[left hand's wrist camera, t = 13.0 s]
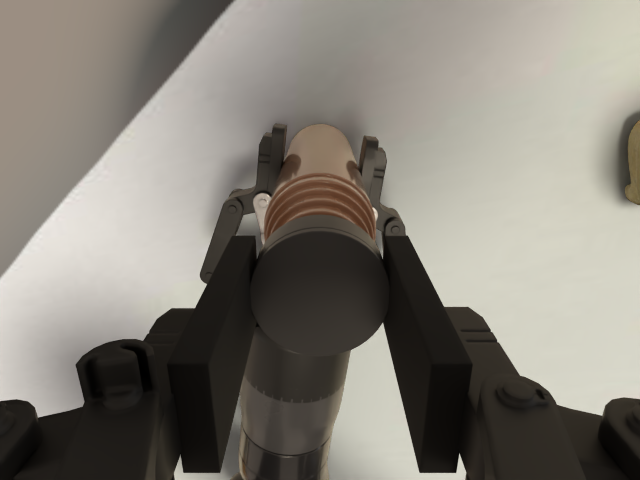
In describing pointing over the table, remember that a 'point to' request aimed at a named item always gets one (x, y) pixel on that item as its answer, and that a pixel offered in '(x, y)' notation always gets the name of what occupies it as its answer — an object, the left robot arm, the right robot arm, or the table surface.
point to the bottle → (319, 182)
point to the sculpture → (634, 165)
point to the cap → (319, 286)
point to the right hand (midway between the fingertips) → (325, 133)
